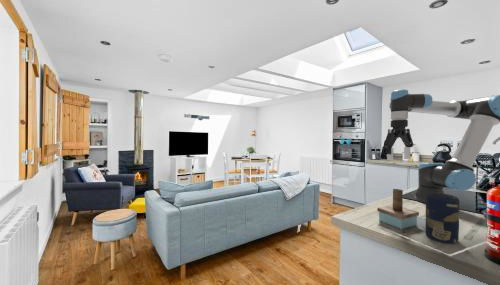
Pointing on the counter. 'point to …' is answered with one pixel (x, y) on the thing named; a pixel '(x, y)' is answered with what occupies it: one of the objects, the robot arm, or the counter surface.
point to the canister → (442, 217)
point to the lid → (398, 207)
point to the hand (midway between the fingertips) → (398, 159)
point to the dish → (398, 221)
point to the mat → (421, 222)
